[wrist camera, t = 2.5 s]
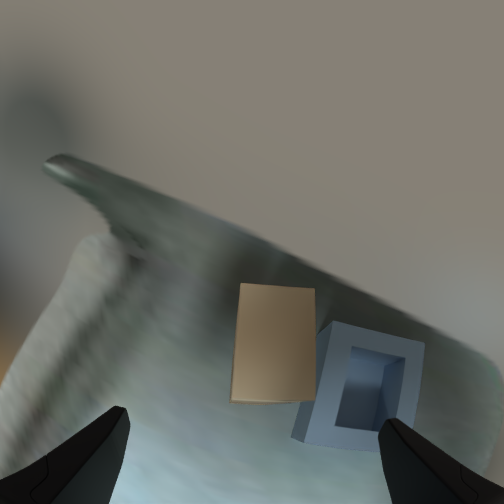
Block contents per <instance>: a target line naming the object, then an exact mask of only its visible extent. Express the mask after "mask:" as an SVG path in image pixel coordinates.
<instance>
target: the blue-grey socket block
mask: <svg viewBox="0 0 504 504" xmlns="http://www.w3.org/2000/svg"><path fill="white" fill-rule="evenodd" d="M424 350H425V343H424V342H419V341H415V340H411V339H406V338H402V337H398V336H394V335H389V334H385V333H381V332H377V331H373V330H369V329H365V328H361V327H357V326H353V325H349V324H345V323H342V322H338V321H334V320H333V321H332V322H331V323H330V324H329V325H328V326H326V327H325V328H324V329H323V330H322V331H321V332H320V333H319V334H317V339H316V393H315V400H314V401H305V402H301V404H300V407H299V411H298V414H297V418H296V421H295V425H294V428H293V432H292V435H291V437H292V438H294V439H296V440H298V441H301V442H303V443H308V444H314V445H320V446H326V447H334V448H341V449H350V450H359V451H371V452H380V448H379V442H378V433H379V431H380V429H381V427H382V425H383V424H384V422H385V420H386V419H389V418H398V419H399V420H401V421H402V422H403V423H405V424H406V425H408V426H409V427H410V428H412V429H413V425H414V420H415V415H416V410H417V404H418V398H419V392H420V385H421V378H422V369H423V360H424Z"/></svg>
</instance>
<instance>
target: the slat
mask: <svg viewBox="0 0 504 504" xmlns="http://www.w3.org/2000/svg"><path fill="white" fill-rule="evenodd" d="M315 393H316V316H315V288H300V287H286V286H272V285H260V284H247V283H241V286H240V295H239V304H238V313H237V323H236V332H235V342H234V351H233V361H232V374H231V388H230V402H229V403H235V404H251V405H268V404H283V403H295V402H305V401H314V400H315Z"/></svg>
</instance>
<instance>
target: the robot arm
mask: <svg viewBox="0 0 504 504" xmlns="http://www.w3.org/2000/svg"><path fill="white" fill-rule="evenodd" d="M129 431H130V421H129V417H128V413H127V410H126V408H124V407H119V406H113V407H112V408H111V409H109V410H108V411H107V412H105V413H104V414H102V415H101V416H100V417H98V418H97V419H96V420H94V421H93V422H92V423H90V424H89V425H87V426H86V427H85V428H83V429H82V430H80V431H79V432H78V433H76V434H75V435H73V436H72V437H71V438H69V439H68V440H66V441H65V442H63V443H62V444H61V445H59V446H58V447H56V448H55V449H53V450H52V451H51V452H49V453H48V454H47V456H46V455H45V456H43V457H42V458H40V459H39V460H37V461H36V462H34V463H32V464H31V465H29V466H27V467H25V468H24V469H22V470H20V471H18V472H16V473H14V474H12V475H9V476H7V477H5V478H3V479H1V480H0V504H109V502H110V499H111V496H112V493H113V490H114V487H115V484H116V481H117V478H118V475H119V472H120V469H121V466H122V463H123V459H124V454H125V449H126V445H127V440H128V436H129ZM378 442H379V448H380V454H381V460H382V466H383V471H384V475H385V479H386V482H387V486H388V489H389V493H390V496H391V500H392V504H504V488H503V487H501V486H499V485H497V484H495V483H493V482H491V481H489V480H487V479H485V478H483V477H482V476H480V475H478V474H476V473H475V472H473V471H471V470H470V469H468V468H467V467H465V466H464V465H462V464H460V463H459V462H458V461H456V460H455V459H454V458H452V457H451V456H449V455H448V454H446V453H445V452H444V451H442V450H441V449H439V448H438V447H437V446H435V445H434V444H432V443H431V442H430V441H428V440H427V439H425V438H424V437H423V436H421V435H420V434H418V433H417V432H416V431H414V430H413V429H412V428H410V427H409V426H408V425H406V424H405V423H403V422H402V421H401V420H399V419H398V418H389V419H386V420H385V422H384V424H383V425H382V427H381V429H380V431H379V433H378Z"/></svg>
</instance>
